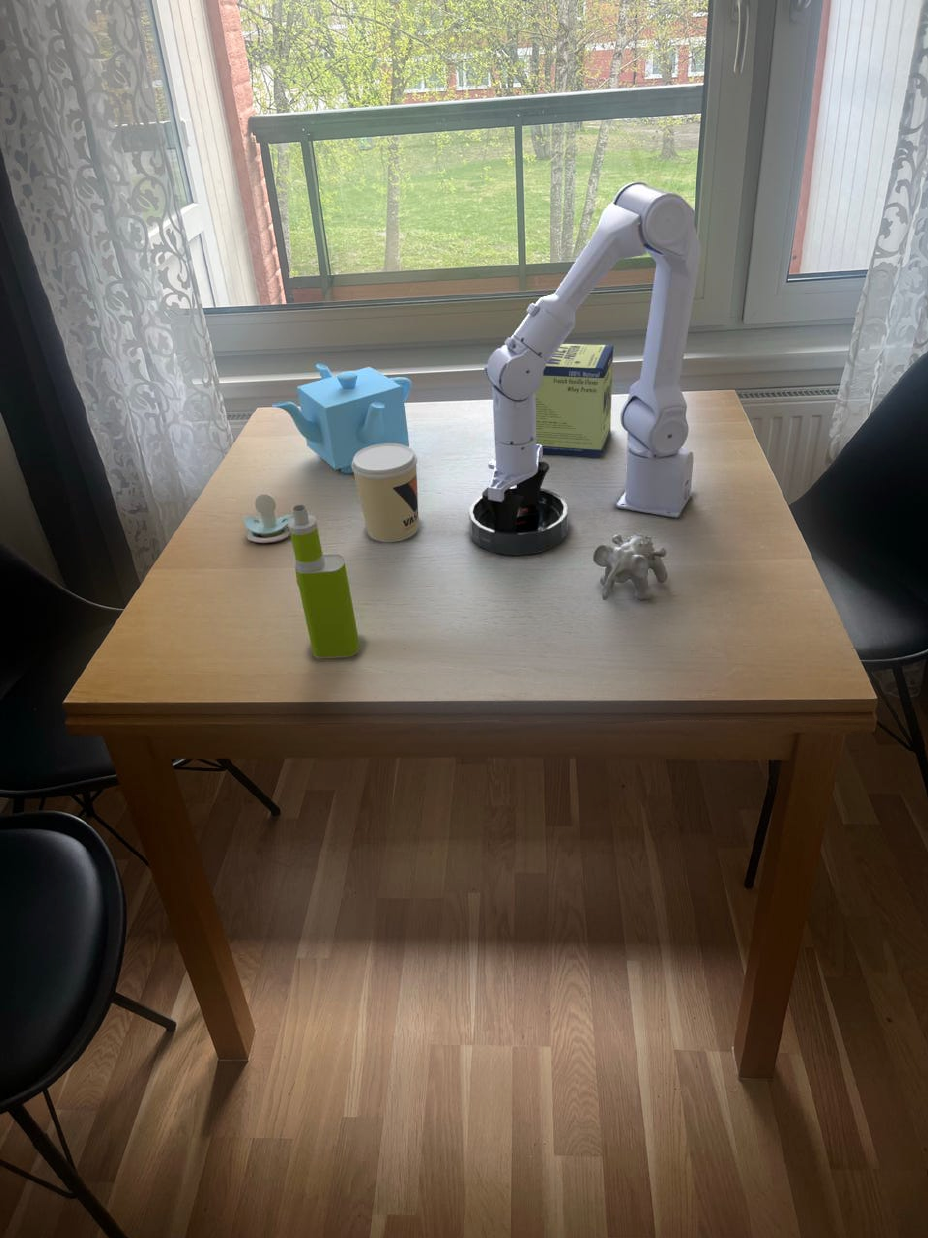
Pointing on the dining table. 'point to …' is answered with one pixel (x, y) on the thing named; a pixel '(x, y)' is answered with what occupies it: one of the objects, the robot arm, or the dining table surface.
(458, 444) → the dining table surface
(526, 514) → the wireless earbuds
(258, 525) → the pacifier
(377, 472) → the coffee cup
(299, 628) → the dining table surface
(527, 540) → the bowl
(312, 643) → the vape
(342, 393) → the teakettle
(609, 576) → the gray elephant figurine
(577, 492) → the dining table surface
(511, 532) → the robot arm
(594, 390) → the protein box
